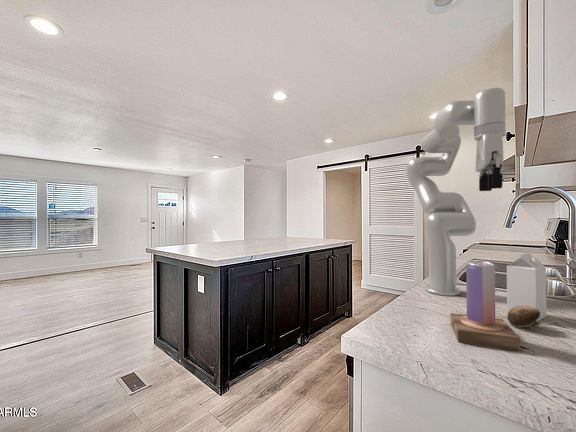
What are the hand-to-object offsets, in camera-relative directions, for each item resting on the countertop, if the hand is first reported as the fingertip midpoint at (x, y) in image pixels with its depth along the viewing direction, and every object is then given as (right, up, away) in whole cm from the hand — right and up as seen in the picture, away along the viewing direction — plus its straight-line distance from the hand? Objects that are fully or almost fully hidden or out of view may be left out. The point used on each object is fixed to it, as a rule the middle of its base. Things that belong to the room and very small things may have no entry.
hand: (490, 189), depth 81 cm
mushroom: (+4, -39, -7) cm, 39 cm away
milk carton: (+12, -38, +1) cm, 40 cm away
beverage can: (-11, -35, -12) cm, 39 cm away
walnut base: (-11, -39, -12) cm, 42 cm away
